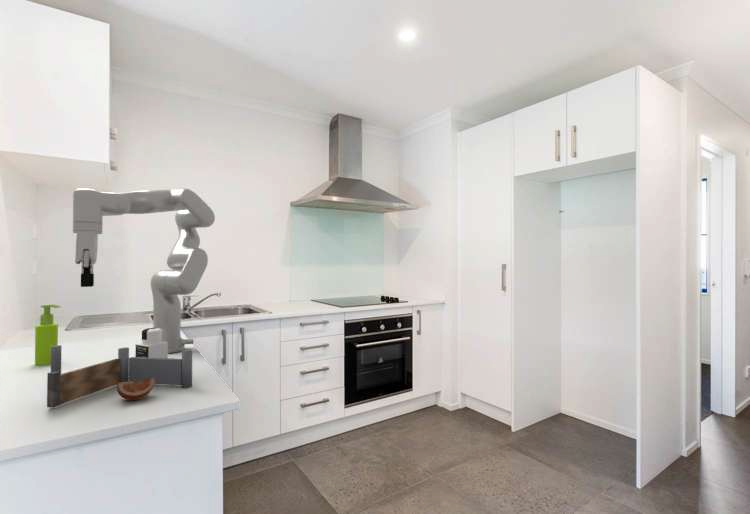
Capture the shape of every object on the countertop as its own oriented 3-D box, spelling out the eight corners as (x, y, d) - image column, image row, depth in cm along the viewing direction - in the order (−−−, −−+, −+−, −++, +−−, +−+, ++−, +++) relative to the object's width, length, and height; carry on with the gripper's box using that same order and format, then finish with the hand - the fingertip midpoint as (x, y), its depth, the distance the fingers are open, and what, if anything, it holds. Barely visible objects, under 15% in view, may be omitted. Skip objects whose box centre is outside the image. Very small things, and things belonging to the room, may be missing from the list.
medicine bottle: (134, 364, 131) (135, 329, 131) (155, 360, 137) (155, 326, 138) (147, 367, 128) (148, 331, 128) (168, 362, 134) (168, 327, 134)
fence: (193, 385, 109) (194, 349, 109) (188, 388, 107) (188, 351, 107) (56, 378, 115) (56, 345, 115) (47, 381, 112) (48, 347, 112)
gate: (115, 383, 109) (115, 355, 109) (120, 383, 109) (120, 355, 109) (46, 407, 91) (47, 373, 91) (53, 407, 91) (53, 373, 91)
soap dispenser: (50, 365, 130) (51, 305, 130) (30, 365, 130) (30, 305, 130) (64, 361, 135) (65, 304, 136) (45, 361, 136) (46, 304, 136)
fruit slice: (153, 392, 103) (153, 374, 103) (157, 399, 98) (157, 380, 98) (115, 399, 98) (116, 379, 98) (117, 407, 93) (118, 386, 93)
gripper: (75, 229, 127) (75, 285, 127) (69, 226, 114) (69, 288, 114) (103, 230, 131) (103, 285, 131) (101, 227, 118) (100, 287, 118)
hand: (87, 286), depth 122 cm, fingers closed
